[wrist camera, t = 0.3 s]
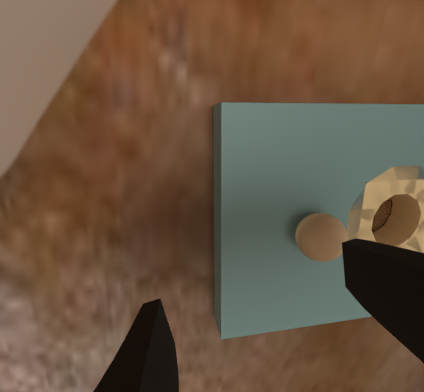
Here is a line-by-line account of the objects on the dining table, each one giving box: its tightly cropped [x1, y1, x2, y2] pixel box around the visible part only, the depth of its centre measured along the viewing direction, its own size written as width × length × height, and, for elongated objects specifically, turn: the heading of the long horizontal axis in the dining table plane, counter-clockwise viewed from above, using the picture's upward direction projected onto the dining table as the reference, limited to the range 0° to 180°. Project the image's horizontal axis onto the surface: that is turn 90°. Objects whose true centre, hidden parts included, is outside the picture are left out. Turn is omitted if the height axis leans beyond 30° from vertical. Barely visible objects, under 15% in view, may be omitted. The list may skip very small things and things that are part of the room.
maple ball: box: [295, 213, 348, 262], centre depth 16 cm, size 3×3×3 cm
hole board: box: [213, 102, 424, 339], centre depth 19 cm, size 18×16×2 cm
